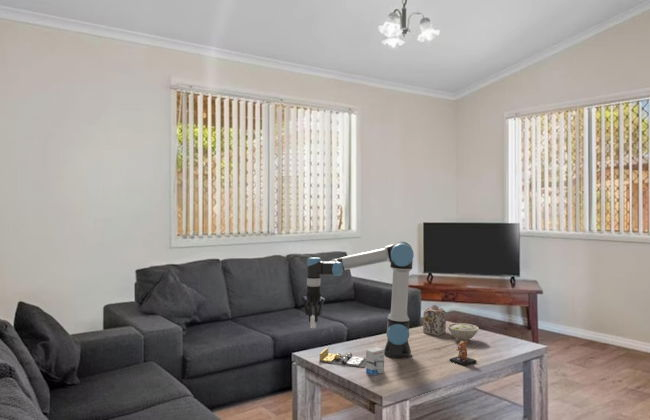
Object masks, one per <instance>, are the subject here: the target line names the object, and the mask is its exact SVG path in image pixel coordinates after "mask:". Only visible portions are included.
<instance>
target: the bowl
mask: <svg viewBox="0 0 650 420" xmlns="http://www.w3.org/2000/svg"><path fill="white" fill-rule="evenodd" d="M446 328H447V330H448V331H449V333H450V334H451V335H452V336H453V337H454V338H455V339H456V341H457V342H458V341H460V340H461V341H464V342H465V341H466V342H467V343H469V340H470V339H472V338H473V337H474V336H475V335H476V334H477V332H478V331H479V326H477V325H474V324H472V323H463V322H454V323H453V322H451V323H449V324H447V325H446Z"/></svg>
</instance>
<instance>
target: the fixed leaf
mask: <svg viewBox="0 0 650 420" xmlns="http://www.w3.org/2000/svg"><path fill="white" fill-rule="evenodd" d="M345 356H346V357H343V358H342V359H341V363H342V364H345V363H346V362H347V361H348V359H350V360H349V361H348V362H347V363H346V365H354V366H359V365H360V364H361V363H362V362H363V360H364V358H365V357H361V356H353V352H350V351H348V352H347V353H346V354H345Z"/></svg>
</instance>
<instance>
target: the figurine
mask: <svg viewBox="0 0 650 420" xmlns="http://www.w3.org/2000/svg"><path fill="white" fill-rule="evenodd" d="M467 344H468V342H466V341H465V342H464V341H461V340H460V342H458V344H457V348H456V351H458V355H457V356H455V357H454V356H453V357H451V358H449V362H450V361H451V362H450V363H453V362H454V363H453V364H456V363H457V365H459V366H463V367H468V366H472V365H474V364H477V363H478V362H477V359H473V358H471V357H467V356H468V350H467V349H468V348H467Z"/></svg>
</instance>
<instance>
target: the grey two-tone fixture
mask: <svg viewBox="0 0 650 420" xmlns="http://www.w3.org/2000/svg"><path fill="white" fill-rule="evenodd" d="M343 357H346V355H342V354H341V358H340V359H339V360H337V361H336V360H334V361H333V362H332V363H331V362H323V361H320V360H319V361H318V362H319V363H322V364H332V365H340V366H345V365H346V363H347V362H348V361H349V360H350V359H348V361H347V362H346V363H345V364H342V363H341V359H342V358H343ZM363 358H364V360H363V362H362V363H361V364H360V365H359V366H354V365H346V366H347V367H355V368H360V369H361V368H362V369H365V368H366V357H363Z"/></svg>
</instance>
